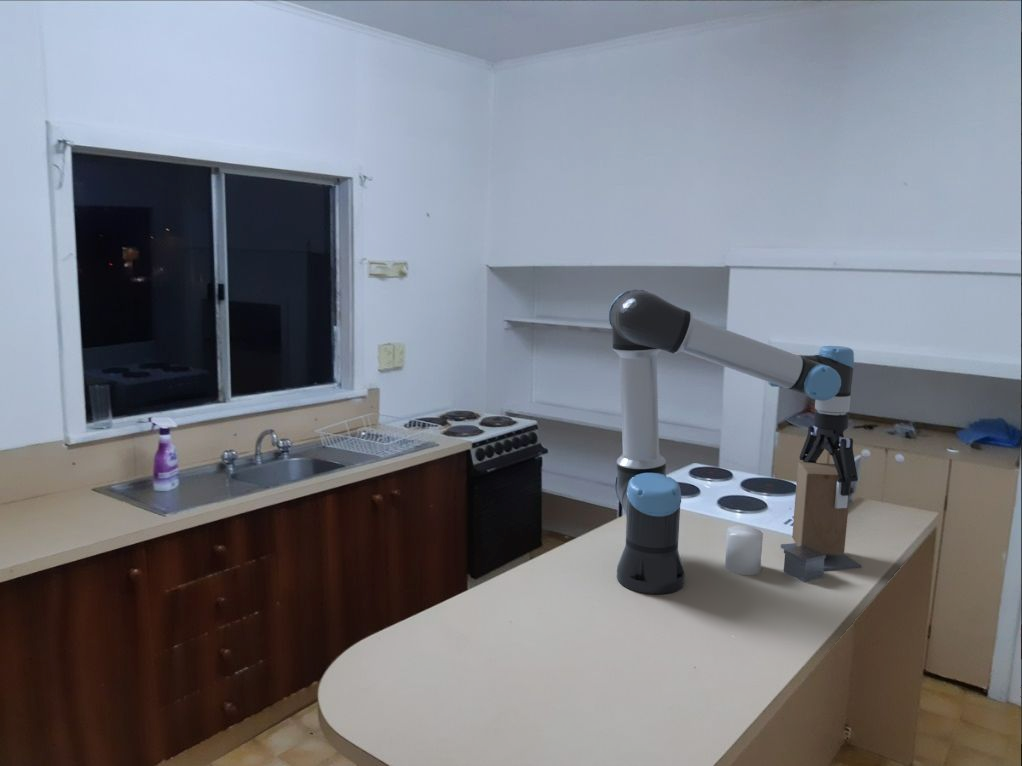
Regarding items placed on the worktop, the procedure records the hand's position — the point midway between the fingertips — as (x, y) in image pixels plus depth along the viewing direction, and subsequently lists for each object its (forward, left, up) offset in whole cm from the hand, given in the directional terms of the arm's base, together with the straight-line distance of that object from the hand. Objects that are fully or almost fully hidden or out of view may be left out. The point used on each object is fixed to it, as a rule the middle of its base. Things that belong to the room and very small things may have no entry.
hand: (824, 499), depth 179 cm
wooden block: (-1, 0, -13) cm, 13 cm away
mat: (0, 0, -15) cm, 15 cm away
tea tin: (-10, -8, -15) cm, 20 cm away
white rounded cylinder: (-22, -2, -15) cm, 27 cm away
